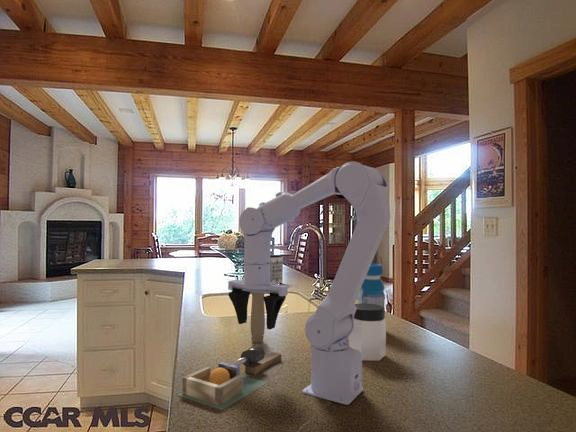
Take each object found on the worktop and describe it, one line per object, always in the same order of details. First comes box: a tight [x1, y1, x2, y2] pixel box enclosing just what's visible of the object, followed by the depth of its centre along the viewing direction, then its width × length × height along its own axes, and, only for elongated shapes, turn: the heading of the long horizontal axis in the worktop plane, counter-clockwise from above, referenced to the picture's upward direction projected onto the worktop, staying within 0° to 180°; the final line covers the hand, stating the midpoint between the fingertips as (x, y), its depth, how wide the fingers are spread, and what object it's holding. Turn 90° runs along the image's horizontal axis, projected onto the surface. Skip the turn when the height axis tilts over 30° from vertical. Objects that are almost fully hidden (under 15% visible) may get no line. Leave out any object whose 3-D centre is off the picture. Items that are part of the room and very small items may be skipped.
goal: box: [181, 366, 242, 405], centre depth 74 cm, size 9×6×3 cm
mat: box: [176, 374, 268, 411], centre depth 76 cm, size 11×14×1 cm
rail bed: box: [244, 351, 282, 375], centre depth 89 cm, size 3×10×2 cm, turn 149°
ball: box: [209, 367, 230, 385], centre depth 76 cm, size 4×4×4 cm
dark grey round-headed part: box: [217, 345, 266, 379], centre depth 83 cm, size 11×5×5 cm, turn 149°
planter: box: [270, 254, 284, 285], centre depth 209 cm, size 16×16×14 cm
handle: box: [250, 289, 266, 344], centre depth 107 cm, size 5×6×15 cm
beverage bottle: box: [356, 263, 386, 308], centre depth 120 cm, size 8×8×20 cm
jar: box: [348, 303, 387, 362], centre depth 97 cm, size 9×8×12 cm
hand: (256, 325), depth 86 cm, fingers open, 7 cm apart
